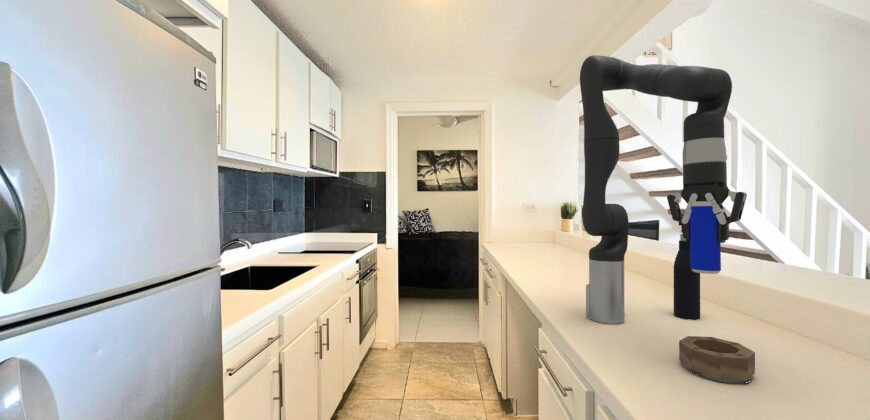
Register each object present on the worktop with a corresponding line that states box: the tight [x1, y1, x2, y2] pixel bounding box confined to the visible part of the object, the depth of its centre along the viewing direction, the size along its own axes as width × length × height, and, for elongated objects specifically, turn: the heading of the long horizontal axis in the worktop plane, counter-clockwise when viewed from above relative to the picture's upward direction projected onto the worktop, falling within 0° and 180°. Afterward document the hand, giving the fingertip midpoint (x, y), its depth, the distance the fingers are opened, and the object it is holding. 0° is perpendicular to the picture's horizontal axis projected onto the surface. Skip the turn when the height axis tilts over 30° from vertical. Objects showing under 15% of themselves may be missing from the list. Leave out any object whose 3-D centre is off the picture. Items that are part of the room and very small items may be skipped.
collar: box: [678, 335, 756, 384], centre depth 72 cm, size 11×11×5 cm
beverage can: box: [690, 201, 722, 275], centre depth 78 cm, size 5×5×15 cm
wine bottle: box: [673, 213, 701, 321], centre depth 107 cm, size 6×6×30 cm
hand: (705, 241), depth 78 cm, fingers closed on beverage can, 5 cm apart
